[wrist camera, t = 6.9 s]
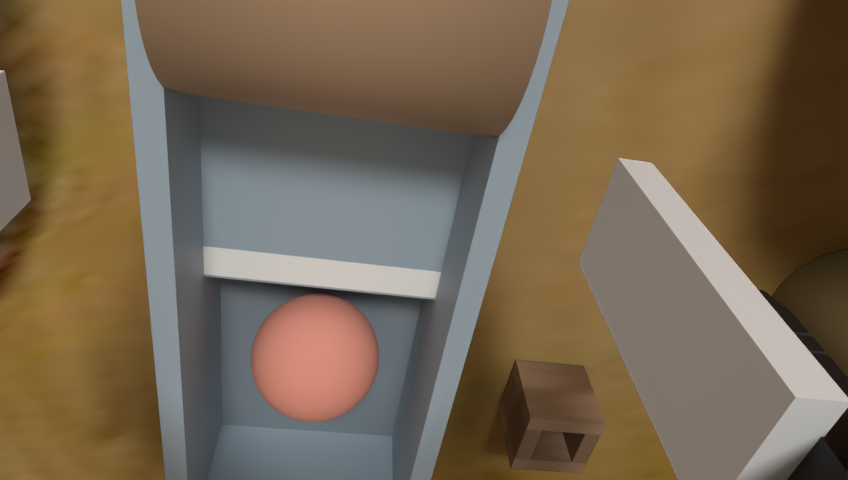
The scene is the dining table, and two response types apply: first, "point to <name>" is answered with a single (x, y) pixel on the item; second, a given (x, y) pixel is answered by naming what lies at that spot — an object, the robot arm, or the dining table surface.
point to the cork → (821, 302)
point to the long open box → (324, 208)
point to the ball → (314, 357)
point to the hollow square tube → (550, 417)
